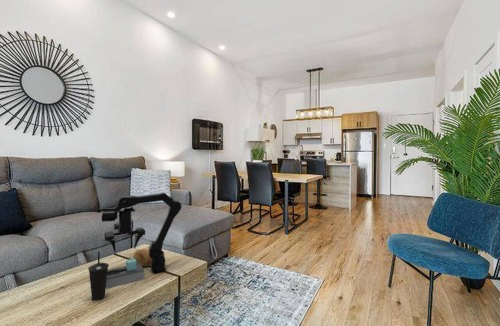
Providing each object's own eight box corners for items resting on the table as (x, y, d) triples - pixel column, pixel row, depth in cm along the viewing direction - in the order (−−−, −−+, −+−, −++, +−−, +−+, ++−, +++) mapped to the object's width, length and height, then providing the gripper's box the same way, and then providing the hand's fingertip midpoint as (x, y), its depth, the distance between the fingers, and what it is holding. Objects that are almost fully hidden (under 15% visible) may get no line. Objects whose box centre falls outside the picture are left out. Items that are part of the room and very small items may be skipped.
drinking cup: (93, 304, 104) (94, 256, 104) (84, 298, 108) (84, 252, 108) (112, 296, 111) (112, 251, 110) (102, 291, 115) (103, 247, 114)
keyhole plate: (139, 272, 134) (139, 263, 134) (143, 279, 126) (143, 269, 126) (100, 281, 123) (100, 271, 123) (102, 289, 116) (102, 278, 116)
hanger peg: (134, 272, 130) (135, 258, 130) (136, 276, 127) (136, 261, 127) (125, 275, 128) (125, 260, 128) (127, 278, 124) (127, 263, 124)
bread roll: (140, 270, 136) (140, 255, 136) (129, 262, 147) (129, 248, 147) (157, 265, 143) (157, 251, 143) (145, 257, 154) (145, 244, 154)
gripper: (140, 215, 142) (140, 242, 142) (102, 219, 131) (102, 249, 131) (145, 219, 133) (145, 248, 133) (105, 224, 122) (104, 256, 122)
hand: (124, 250), depth 130 cm, fingers open, 9 cm apart
